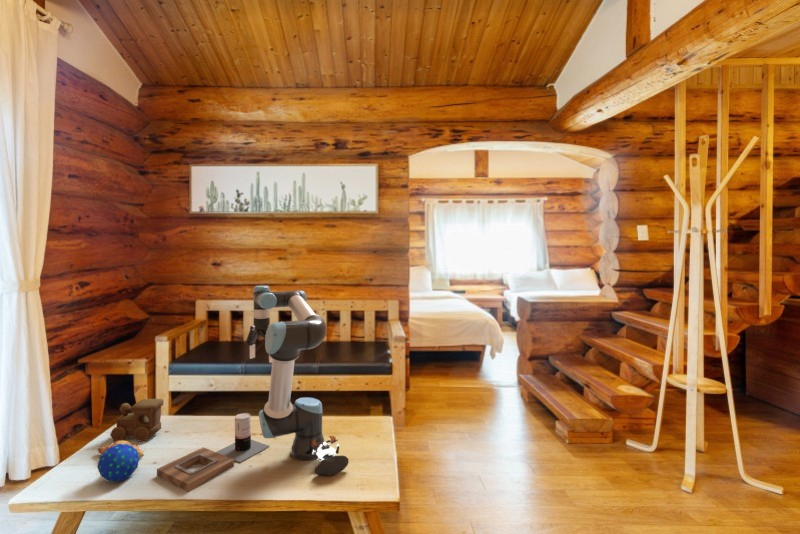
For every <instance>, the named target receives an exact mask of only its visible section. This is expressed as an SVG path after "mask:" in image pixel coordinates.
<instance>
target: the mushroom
mask: <svg viewBox="0 0 800 534" xmlns="http://www.w3.org/2000/svg"><path fill="white" fill-rule="evenodd" d="M139 461H140V458H139V454H138V452H137V449H135V448H134V447H133V446H131V445H129V444H117V445H115V446H112V447H110V448H108V449H106V451H105V452H104V453H103V454H102V455H101V454H100V456H99V458H98V463H97V470H98V473H99V475H100V477H102V478H103V479H105V480H106V481H108V482H111V483H112V482H116V483H117V482H118V483H120V482H123V481H124V480H127V479H128V478H130V477H131V476H132V475H133V473H134V472H135V471H136V470H137V468H138V466H139Z"/></svg>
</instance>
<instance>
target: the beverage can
mask: <svg viewBox="0 0 800 534" xmlns="http://www.w3.org/2000/svg"><path fill="white" fill-rule="evenodd" d="M251 418H252V416H251V414H250V413H248V412H243V413H238V414H236V415H235V416H234V443H235V450H236V451H237V452H245V451H248V450H249V449H250V448H251V440H252V438H251V437H252V432H251V431H252V430H251V429H252V427H251V426H252V425H251V423H252V422H251V420H252V419H251Z"/></svg>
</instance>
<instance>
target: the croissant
mask: <svg viewBox="0 0 800 534" xmlns="http://www.w3.org/2000/svg"><path fill="white" fill-rule="evenodd" d="M117 444H129V445H131V446H133V447H134V448H135V449H137V452H138V454H139V459H141V458H143V457H144V451H143V450H142V449H141V448H140V447H139V446H137V444H132V443H131V442H129V440H121V441H115V442H114V443H110V444H109V445H105V446H102V447H101V446H100V447H99V448H98V450H97V452H98V454H100V456H101V455H102V454H103V453H104V452H105V451H106V449H108V448H110V447H112V446H115V445H117Z"/></svg>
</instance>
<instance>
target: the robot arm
mask: <svg viewBox="0 0 800 534" xmlns="http://www.w3.org/2000/svg"><path fill="white" fill-rule="evenodd" d="M252 295H253V298H252V299H253V311H252V312H253V316H252V317H253V325H251V326H250V327H249V331H248V332H249V333H248V335H247V337H246V340H245V344H247V345H248V351H249V359H250V360H251V359H255V358H256V341H257V340H258V338H259V337H261V338H263V339H264V342H265V343H264V346H265V347H264V348H265V352H266V353H267V354H268V362H269V363H270V364H271V370H270V371H271V373H270V382H269V383H270V384H269V392H268V401H267V402H266V403H265V404H264V407H263V409H261V410H259V412H258V419H259V420H258V421H259V426H260V429H261V435H262V437H263V438H264V439H268V440H269V439H274V438H278V437H282V436H288V435H290V434H294V433H295V435H294V439H293V441H292V444H291V448H290V449H291V450H290V454H291V456H292V457H293V458H294V459H296V460H299V461H311V460H316V459H315V456H314V455H313V454H312V452H313V450H314V451H316V452H315V453H317V449H318V447H310V446H311V444H312V443H311V441H313V440H314V439H315V440H316V442H315V443H316V444H318V443H319V442H326V441H325V438H324V434H323V413H324V412H323V404H322V402H321V401H320V400H319V399H317V398H315V397H299V398H298V399H296V400H295V402H294V404H292V402H291V398H292V397H291V394H292V387H293V378H294V369H295V364H296V363H295V361H296V360H297V359H298V358H299V357H300V351H306V350H311V349H315V348H316V347H318V346H320V344H322V342H323V341H324V339H325V337H326V335H327V330H328V328H327V324H326V322H325V320H324V318H323V317H322V316H320V315H318V314H316V313H315V311H314V310H313V309H312V308H311V306H310V305H309V304H308V303H307V295H306V292H305V291H304V290H298V289H297V290H287V291H284V290H283V291H282V290H281V291H270V287H269V285H255V286H254V287H253V292H252ZM274 308H275V309H276V308H289V309H290V311H291V312H292V313H293V315H294V317H295V318H296V319H297V320H292V321H291V320H290V321H277V322H273V323H270V322H271V321H270V319H271V318H270V311H271V309H274ZM318 446H320V444H319V445H318Z"/></svg>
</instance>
